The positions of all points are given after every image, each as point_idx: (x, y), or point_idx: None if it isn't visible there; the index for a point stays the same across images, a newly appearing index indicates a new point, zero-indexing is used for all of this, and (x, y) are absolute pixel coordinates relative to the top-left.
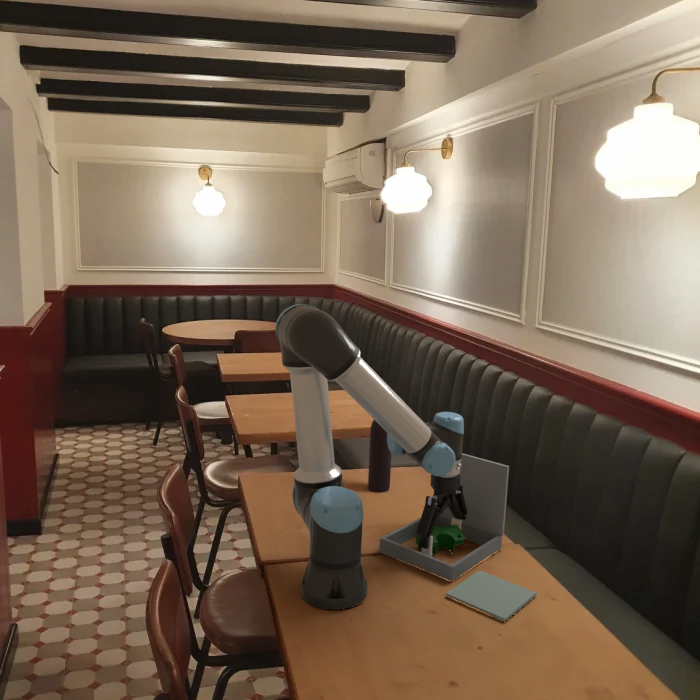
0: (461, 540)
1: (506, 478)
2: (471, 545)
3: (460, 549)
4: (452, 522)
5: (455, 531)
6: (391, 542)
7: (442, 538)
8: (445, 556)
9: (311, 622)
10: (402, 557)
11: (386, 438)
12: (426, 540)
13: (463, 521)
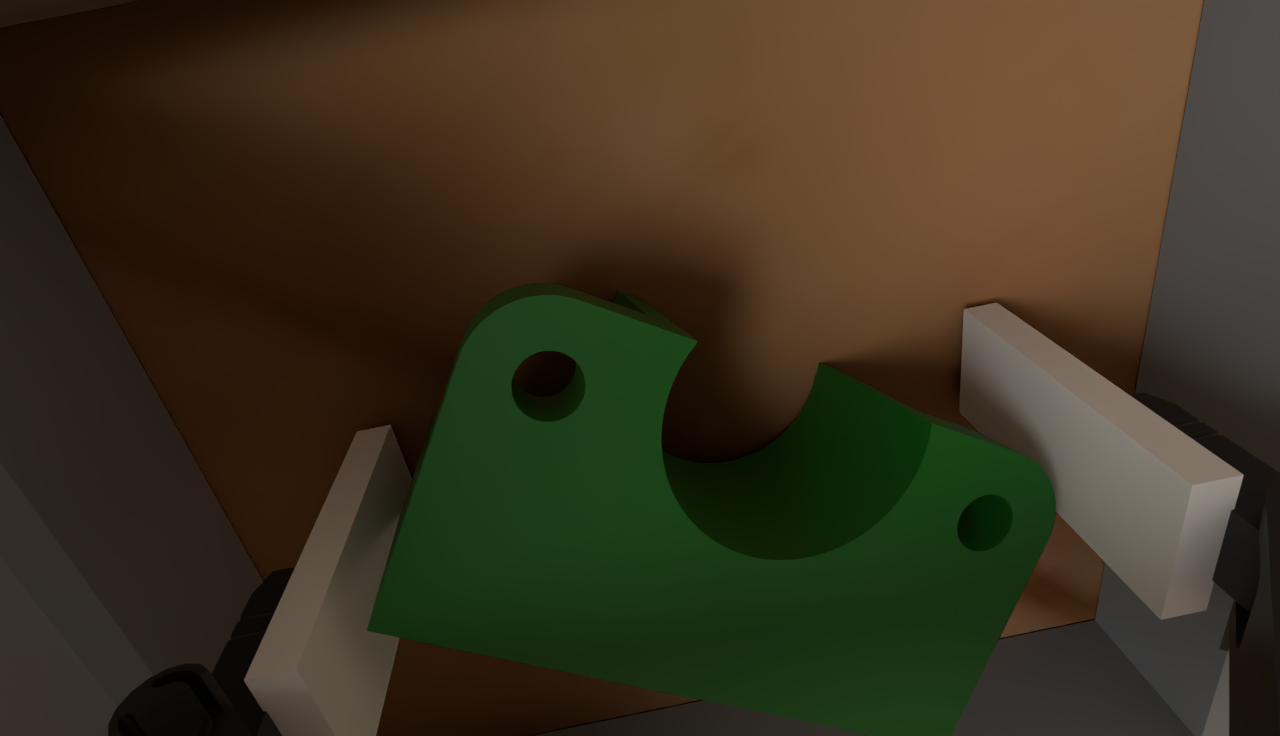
0: (579, 296)
1: None
2: (242, 335)
3: (451, 332)
4: (371, 706)
5: (517, 510)
6: None
7: (698, 507)
8: (739, 303)
9: None
10: None
11: None
12: (1260, 466)
13: (93, 695)
